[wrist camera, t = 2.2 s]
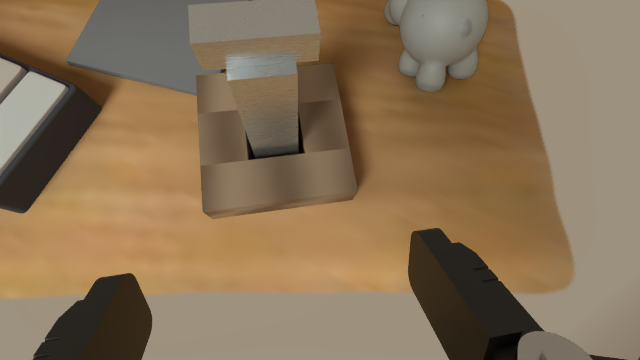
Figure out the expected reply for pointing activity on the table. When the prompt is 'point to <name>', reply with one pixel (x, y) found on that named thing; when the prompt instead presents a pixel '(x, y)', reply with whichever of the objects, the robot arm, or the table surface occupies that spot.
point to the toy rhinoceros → (438, 38)
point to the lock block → (276, 172)
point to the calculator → (36, 129)
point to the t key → (259, 62)
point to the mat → (142, 42)
